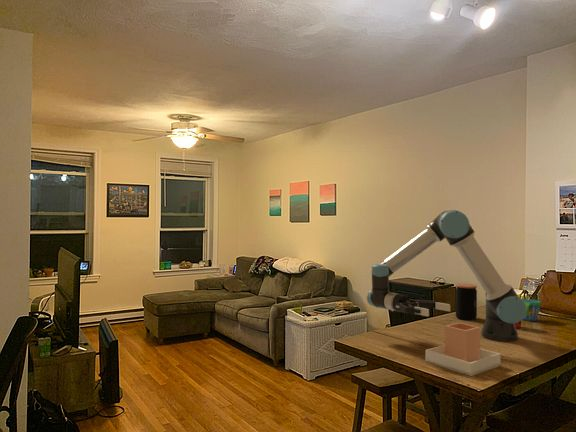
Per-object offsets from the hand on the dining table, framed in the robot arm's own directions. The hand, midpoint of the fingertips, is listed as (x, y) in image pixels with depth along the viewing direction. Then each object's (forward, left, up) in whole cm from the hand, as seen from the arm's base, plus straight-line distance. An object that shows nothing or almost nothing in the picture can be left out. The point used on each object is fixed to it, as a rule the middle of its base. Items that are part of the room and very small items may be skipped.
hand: (439, 310), depth 176 cm
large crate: (-8, +6, -18) cm, 21 cm away
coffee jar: (-19, -72, -19) cm, 76 cm away
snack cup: (-51, -77, -19) cm, 95 cm away
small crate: (-8, +6, -17) cm, 20 cm away
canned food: (-39, -59, -19) cm, 73 cm away
